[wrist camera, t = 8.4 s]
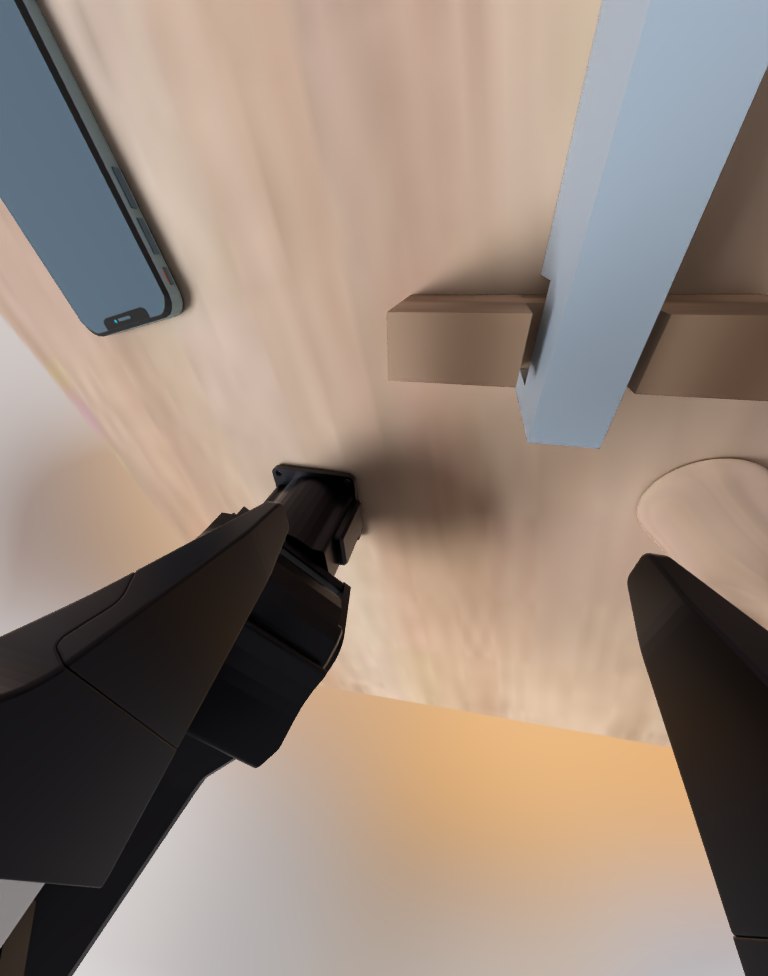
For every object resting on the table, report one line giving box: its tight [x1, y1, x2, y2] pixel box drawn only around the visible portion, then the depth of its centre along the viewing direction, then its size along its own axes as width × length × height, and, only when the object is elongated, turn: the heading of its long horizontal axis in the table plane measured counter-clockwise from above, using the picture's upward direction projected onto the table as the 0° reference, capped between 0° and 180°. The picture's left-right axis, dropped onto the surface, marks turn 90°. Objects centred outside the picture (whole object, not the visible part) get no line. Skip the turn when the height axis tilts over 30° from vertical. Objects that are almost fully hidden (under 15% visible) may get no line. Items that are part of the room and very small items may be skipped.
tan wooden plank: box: [387, 294, 768, 401], centre depth 13 cm, size 14×2×5 cm, turn 92°
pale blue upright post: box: [515, 0, 768, 449], centre depth 10 cm, size 2×14×6 cm, turn 2°
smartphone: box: [0, 0, 183, 336], centre depth 16 cm, size 8×2×15 cm
